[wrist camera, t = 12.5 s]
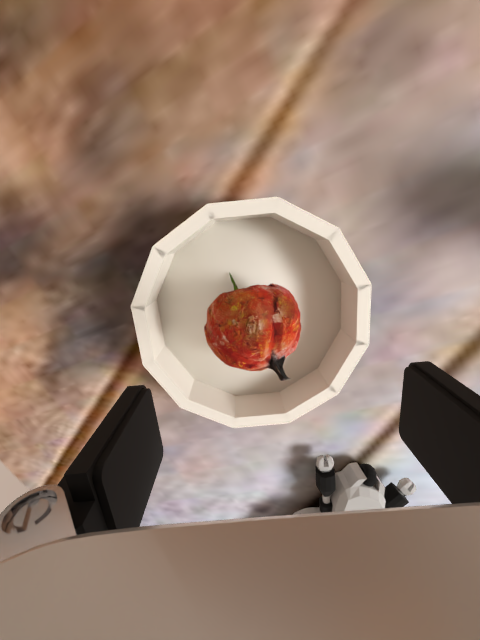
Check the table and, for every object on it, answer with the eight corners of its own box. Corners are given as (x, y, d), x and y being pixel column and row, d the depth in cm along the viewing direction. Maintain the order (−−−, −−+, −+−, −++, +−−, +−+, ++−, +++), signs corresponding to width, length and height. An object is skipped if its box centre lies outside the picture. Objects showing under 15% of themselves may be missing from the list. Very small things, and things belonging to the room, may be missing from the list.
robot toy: (308, 433, 31) (261, 539, 34) (321, 462, 27) (265, 581, 29) (406, 463, 32) (353, 562, 35) (434, 495, 28) (370, 606, 31)
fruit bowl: (134, 217, 24) (111, 213, 19) (349, 196, 23) (375, 187, 19) (169, 405, 29) (157, 434, 24) (346, 389, 28) (366, 416, 24)
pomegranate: (199, 304, 27) (232, 406, 23) (176, 261, 20) (217, 396, 16) (272, 278, 27) (316, 375, 23) (273, 227, 20) (335, 353, 17)
